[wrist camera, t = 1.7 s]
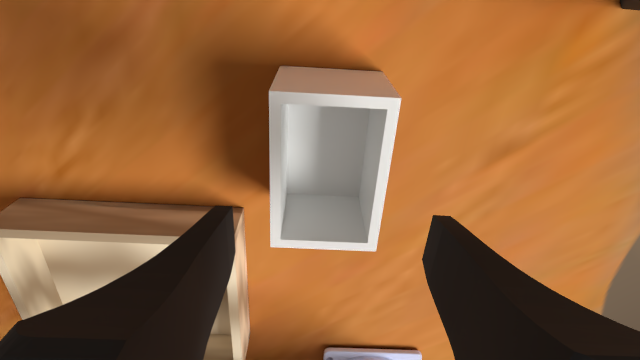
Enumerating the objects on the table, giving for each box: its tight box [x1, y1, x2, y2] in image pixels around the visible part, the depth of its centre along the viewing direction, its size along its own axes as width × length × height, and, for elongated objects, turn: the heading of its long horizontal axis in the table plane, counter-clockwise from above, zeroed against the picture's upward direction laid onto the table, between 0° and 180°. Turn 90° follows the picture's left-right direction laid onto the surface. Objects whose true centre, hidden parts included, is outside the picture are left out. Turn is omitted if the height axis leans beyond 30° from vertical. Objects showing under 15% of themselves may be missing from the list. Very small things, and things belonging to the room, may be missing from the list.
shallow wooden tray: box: [0, 198, 250, 360], centre depth 25 cm, size 12×14×3 cm
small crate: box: [269, 66, 401, 251], centre depth 19 cm, size 8×5×5 cm
